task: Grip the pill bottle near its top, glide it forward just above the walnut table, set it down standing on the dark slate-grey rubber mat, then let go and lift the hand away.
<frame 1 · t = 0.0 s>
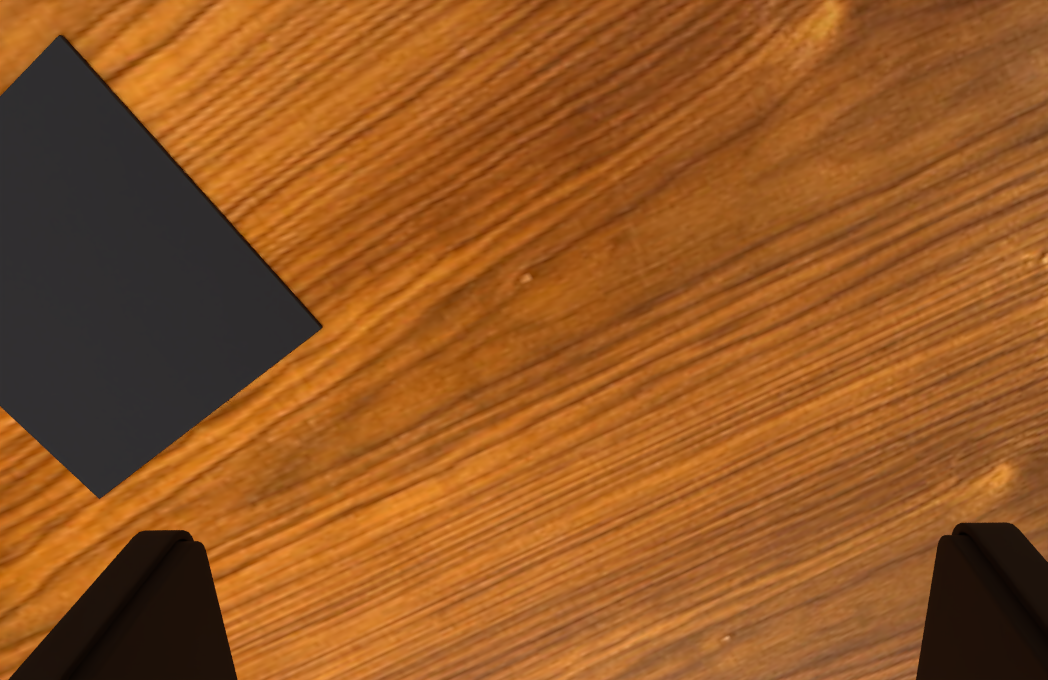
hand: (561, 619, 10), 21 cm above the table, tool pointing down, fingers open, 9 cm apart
mat: (84, 292, 32), on the table
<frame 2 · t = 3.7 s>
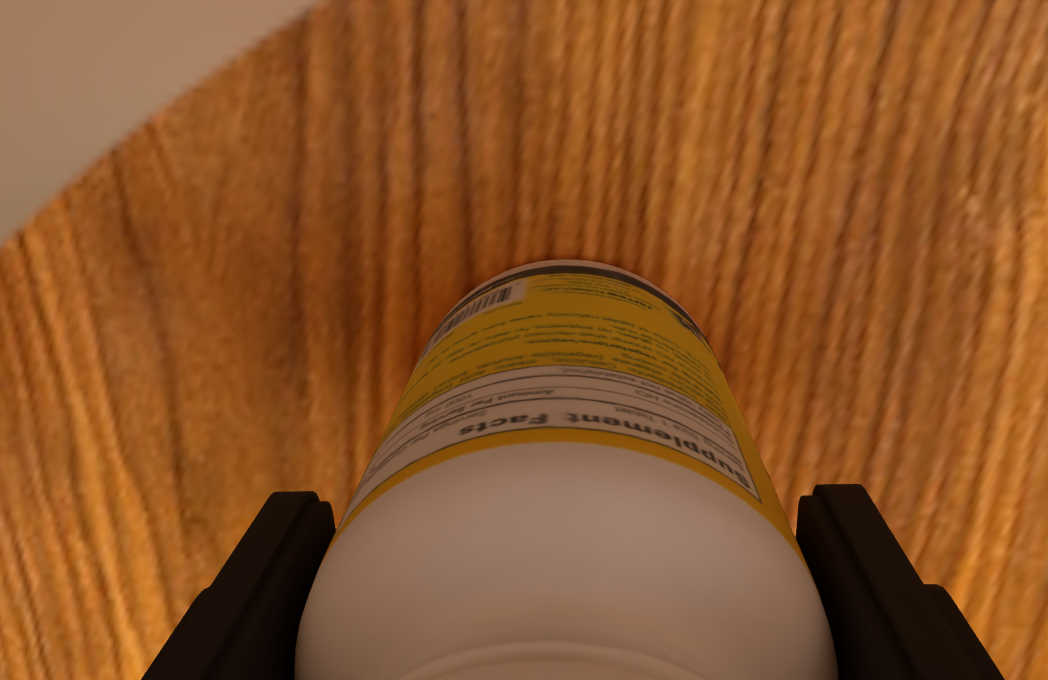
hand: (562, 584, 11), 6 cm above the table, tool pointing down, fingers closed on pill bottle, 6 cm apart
pill bottle: (569, 390, 17), on the table, touching gripper
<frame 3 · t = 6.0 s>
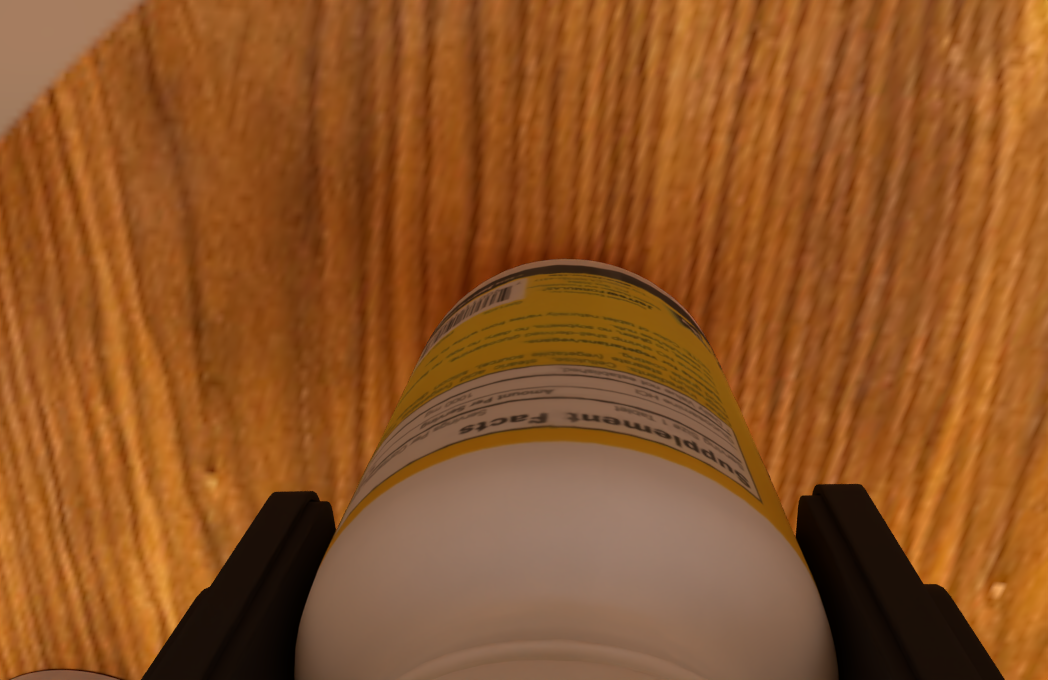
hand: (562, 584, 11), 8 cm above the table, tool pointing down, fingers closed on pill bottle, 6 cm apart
pill bottle: (569, 389, 17), point 2 cm above the table, touching gripper
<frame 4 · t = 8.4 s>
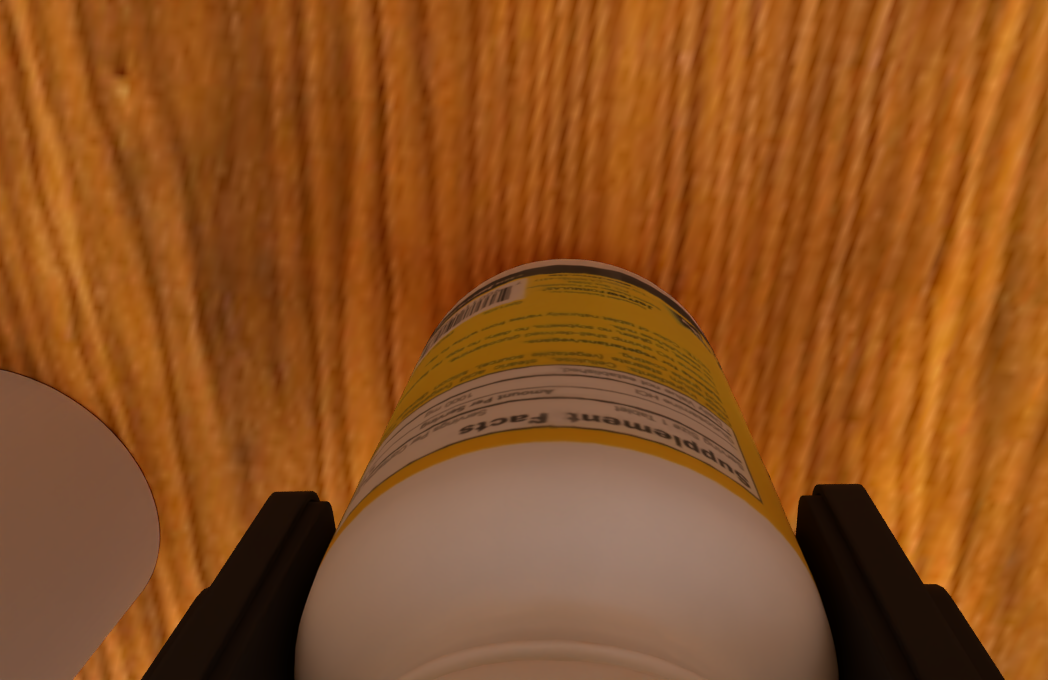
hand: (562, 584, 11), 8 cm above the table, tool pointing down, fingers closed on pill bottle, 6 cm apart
pill bottle: (569, 389, 17), point 2 cm above the table, touching gripper
grey upright cylinder: (12, 503, 21), on the table
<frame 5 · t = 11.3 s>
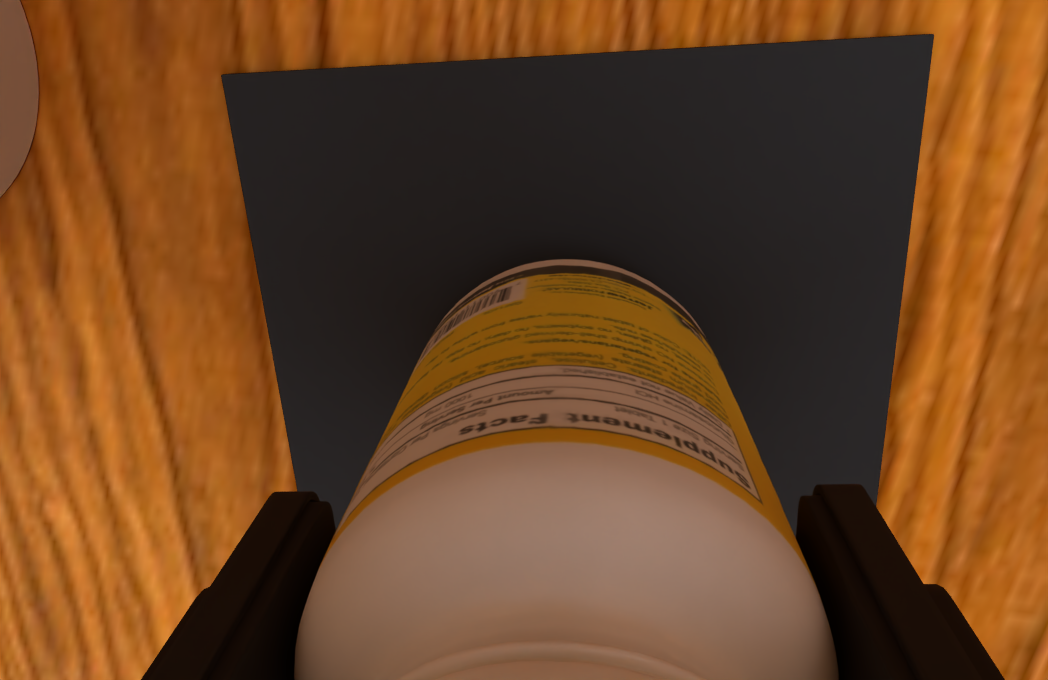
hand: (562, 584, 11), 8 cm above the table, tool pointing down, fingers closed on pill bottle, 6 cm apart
pill bottle: (569, 390, 17), point 2 cm above the table, touching gripper
mat: (575, 376, 18), on the table
when the fingers open (6 cm above the table, at t = 13.2 s): pill bottle stays where it is, resting on mat.
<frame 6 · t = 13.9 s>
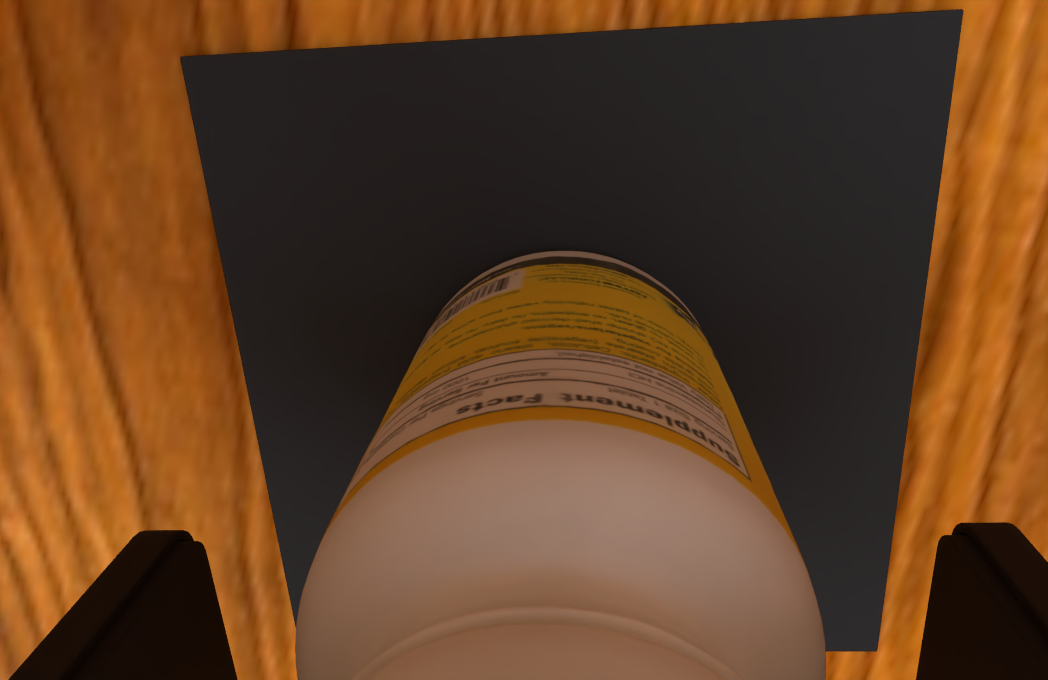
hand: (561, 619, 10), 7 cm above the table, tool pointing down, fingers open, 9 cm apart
pill bottle: (566, 380, 17), resting on mat
mat: (569, 385, 17), on the table
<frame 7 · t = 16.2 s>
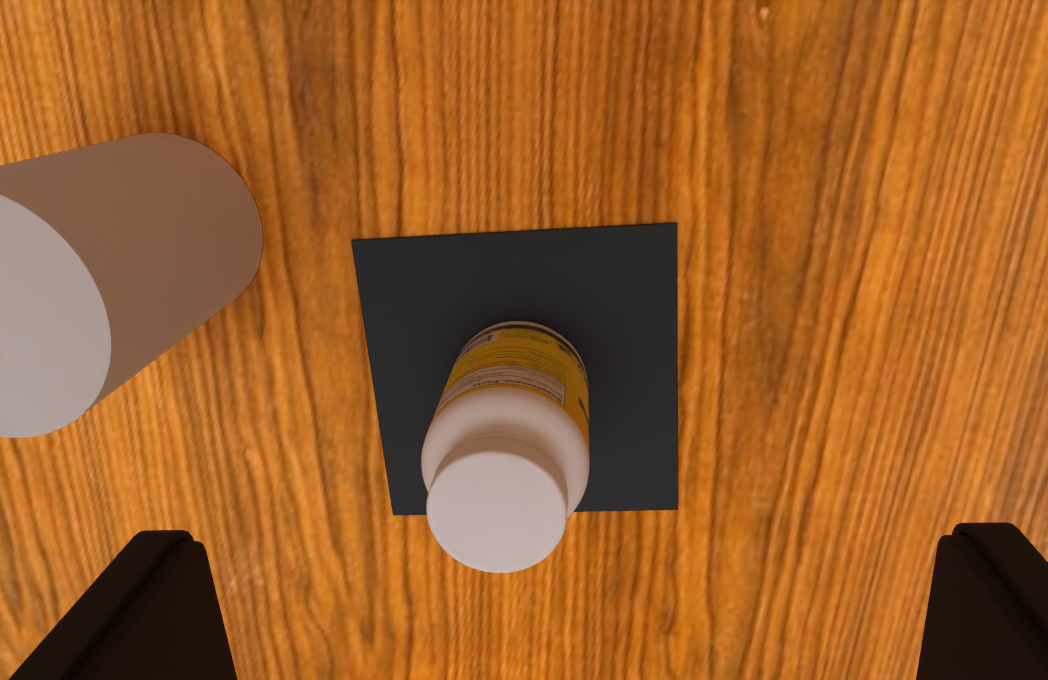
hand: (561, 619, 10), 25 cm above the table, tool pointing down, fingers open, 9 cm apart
pill bottle: (521, 378, 36), resting on mat
grey upright cylinder: (174, 226, 35), on the table
mat: (523, 380, 36), on the table
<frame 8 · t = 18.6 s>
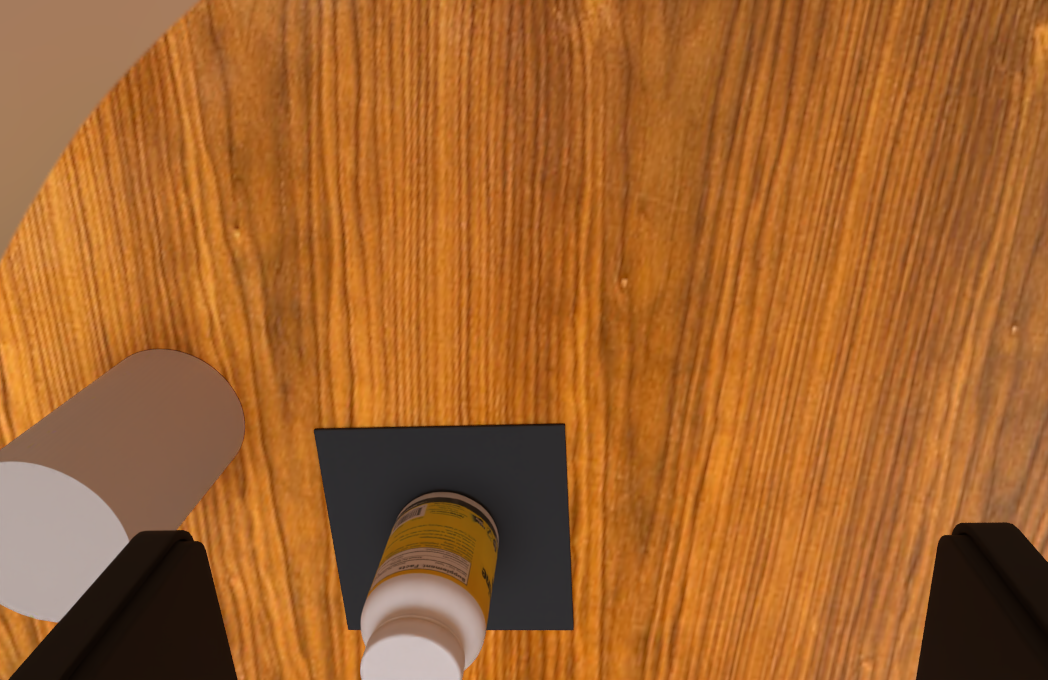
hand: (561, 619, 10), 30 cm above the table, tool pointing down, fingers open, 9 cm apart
pill bottle: (448, 530, 46), resting on mat
grey upright cylinder: (175, 414, 45), on the table
mat: (449, 532, 46), on the table
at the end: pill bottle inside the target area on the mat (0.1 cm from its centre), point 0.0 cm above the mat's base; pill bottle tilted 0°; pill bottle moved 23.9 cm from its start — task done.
